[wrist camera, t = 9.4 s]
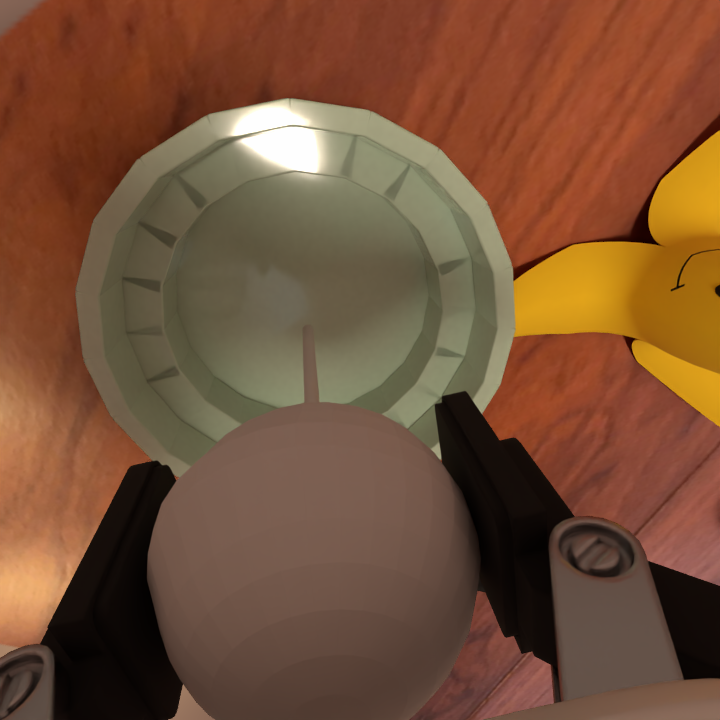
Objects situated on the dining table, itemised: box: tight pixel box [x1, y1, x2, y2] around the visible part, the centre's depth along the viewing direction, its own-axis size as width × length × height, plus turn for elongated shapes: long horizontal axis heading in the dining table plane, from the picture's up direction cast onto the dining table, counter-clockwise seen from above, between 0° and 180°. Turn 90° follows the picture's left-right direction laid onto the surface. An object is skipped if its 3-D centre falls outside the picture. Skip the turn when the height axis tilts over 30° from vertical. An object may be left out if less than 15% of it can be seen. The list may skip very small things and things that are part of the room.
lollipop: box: [147, 325, 481, 720], centre depth 13 cm, size 6×6×15 cm
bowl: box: [75, 98, 516, 478], centre depth 21 cm, size 17×17×6 cm
